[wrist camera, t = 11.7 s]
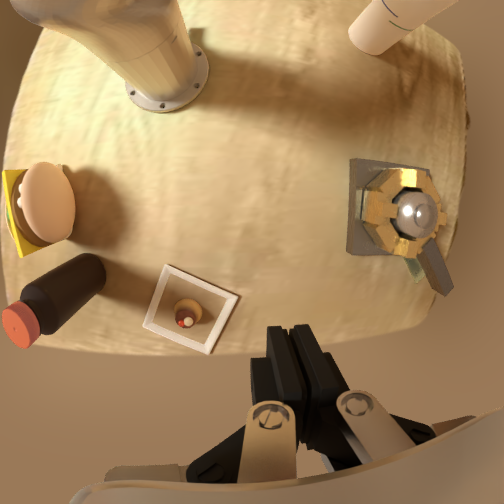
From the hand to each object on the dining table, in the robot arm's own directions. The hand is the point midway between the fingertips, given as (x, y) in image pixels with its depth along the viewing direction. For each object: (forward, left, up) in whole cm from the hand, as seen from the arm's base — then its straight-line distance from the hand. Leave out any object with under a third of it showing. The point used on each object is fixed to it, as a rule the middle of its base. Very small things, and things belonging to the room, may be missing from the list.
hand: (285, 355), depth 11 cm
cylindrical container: (-34, +20, -29) cm, 49 cm away
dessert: (+12, -10, -30) cm, 34 cm away
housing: (-1, +24, -29) cm, 38 cm away
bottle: (+6, -26, -29) cm, 40 cm away
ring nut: (0, +25, -26) cm, 37 cm away
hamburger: (-6, -30, -29) cm, 42 cm away
